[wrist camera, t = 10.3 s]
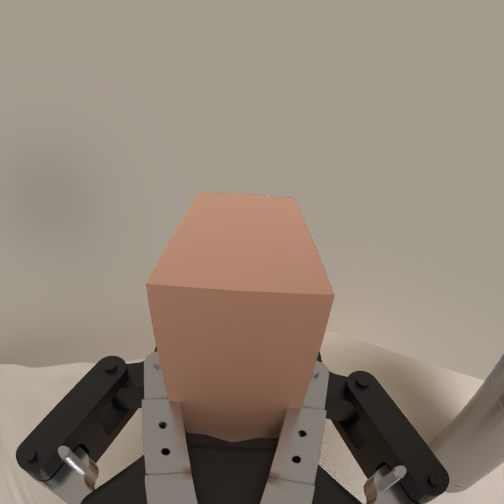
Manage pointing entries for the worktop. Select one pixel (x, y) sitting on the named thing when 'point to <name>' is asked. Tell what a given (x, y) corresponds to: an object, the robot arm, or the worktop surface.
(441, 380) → the worktop surface
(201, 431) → the salmon pink rectangular block
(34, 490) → the worktop surface
